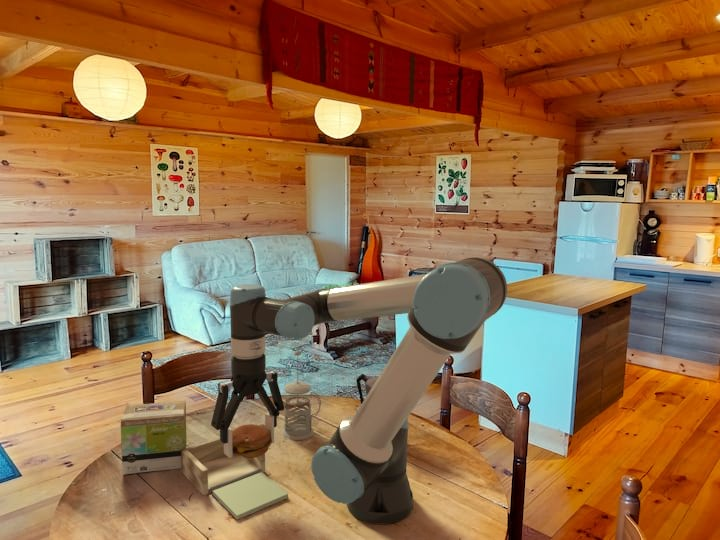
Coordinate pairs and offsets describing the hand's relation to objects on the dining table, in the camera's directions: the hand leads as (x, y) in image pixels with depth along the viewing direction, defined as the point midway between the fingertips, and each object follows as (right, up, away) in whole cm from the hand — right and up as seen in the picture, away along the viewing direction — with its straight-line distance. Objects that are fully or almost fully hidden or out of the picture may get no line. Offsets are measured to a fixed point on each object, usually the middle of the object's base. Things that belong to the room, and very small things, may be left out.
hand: (249, 447), depth 118 cm
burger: (0, 0, 0) cm, 0 cm away
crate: (-9, -10, +12) cm, 18 cm away
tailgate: (-1, -12, +2) cm, 12 cm away
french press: (+8, -7, +35) cm, 36 cm away
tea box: (-28, -10, +16) cm, 33 cm away
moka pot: (+30, -8, +31) cm, 44 cm away
